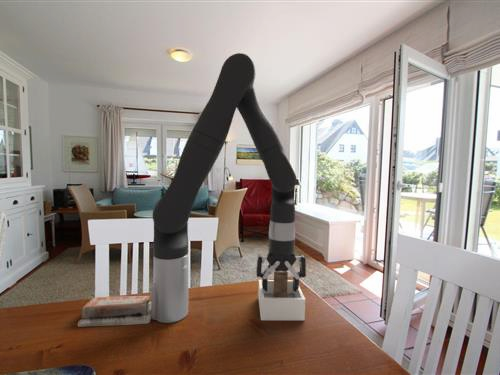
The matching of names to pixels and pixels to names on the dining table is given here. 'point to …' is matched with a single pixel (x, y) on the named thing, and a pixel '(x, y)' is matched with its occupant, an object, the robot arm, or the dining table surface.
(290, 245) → the robot arm
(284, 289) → the peg
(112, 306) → the packaged product
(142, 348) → the dining table surface
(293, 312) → the open box
